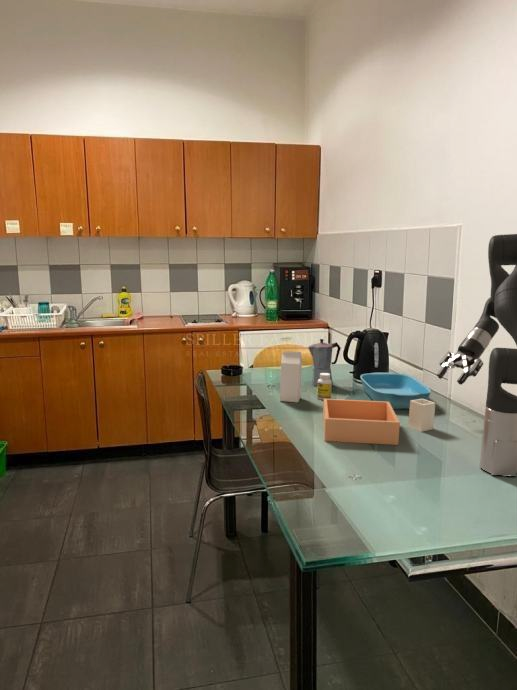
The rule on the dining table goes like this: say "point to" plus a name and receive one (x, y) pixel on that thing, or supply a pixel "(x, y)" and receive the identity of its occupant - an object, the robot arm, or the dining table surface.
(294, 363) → the milk carton
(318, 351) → the moka pot
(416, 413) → the small crate
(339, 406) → the large crate
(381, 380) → the casserole dish
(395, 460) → the dining table surface
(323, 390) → the supplement bottle
